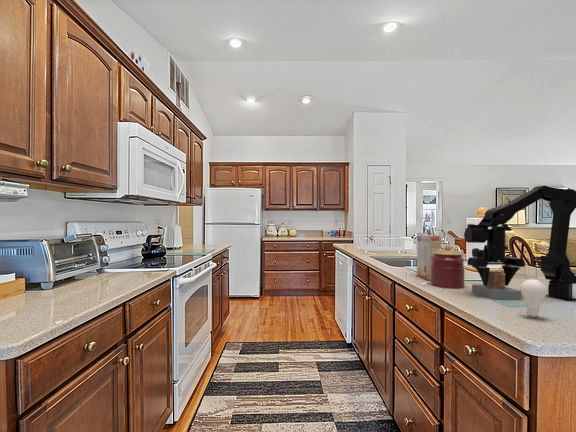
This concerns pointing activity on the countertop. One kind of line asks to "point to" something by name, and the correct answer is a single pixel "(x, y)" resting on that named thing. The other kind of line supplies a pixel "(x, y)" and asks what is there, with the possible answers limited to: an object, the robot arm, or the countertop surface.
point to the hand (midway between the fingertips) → (495, 285)
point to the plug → (496, 280)
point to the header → (496, 292)
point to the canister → (447, 268)
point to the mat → (511, 303)
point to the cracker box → (426, 254)
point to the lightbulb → (533, 295)
